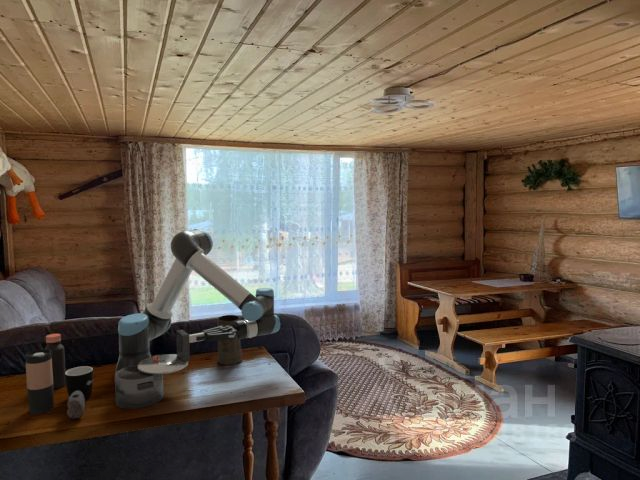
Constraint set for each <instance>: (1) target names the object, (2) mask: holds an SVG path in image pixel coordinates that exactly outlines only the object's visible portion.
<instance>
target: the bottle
mask: <svg viewBox="0 0 640 480" xmlns="http://www.w3.org/2000/svg"><path fill="white" fill-rule="evenodd" d="M45 342H46V346H45V348H44V349H48V350H51V357H52V372H53V390H56V389H55V388H57V389H60V388H59V387H61V388H63V387H64V386H66V381H65V372H66V357H65V346H64V345H63V344H61V342H62V335H61V334H60V333H51V334H47V335H46V336H45ZM62 386H63V387H62Z"/></svg>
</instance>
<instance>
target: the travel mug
mask: <svg viewBox="0 0 640 480" xmlns="http://www.w3.org/2000/svg"><path fill="white" fill-rule="evenodd" d="M25 377H26V391H27V401H28V402H27V403H28V410H29V413H30V414H31V415H42V414H45V413H49V412H51V411H52V410H53V409H54V407H55V405H54V403H55V402H54V401H55V398H54V389H53V372H52V357H51V350H48V349H45V348H44V349H36V350H32V351H31V350H30V351H29V352H27V353H26V354H25ZM52 408H53V409H52ZM51 409H52V410H51Z"/></svg>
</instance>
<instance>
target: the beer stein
mask: <svg viewBox="0 0 640 480" xmlns="http://www.w3.org/2000/svg"><path fill="white" fill-rule="evenodd" d="M239 320H241V318H240V316H239V315H235V314H226V315H221V316H219V317H218V318H217V322H216V324H217V327H218V326H221V325H222V326H223V327H225V326H232V325H233V322H235V321H239ZM242 354H243V351H242V346H241V339H239V340H236V339H235V338H234V339H227V340H218V341H217V355H218V357H217V361H218V363H219V364H221V365H226V366H228V365H236V364H239V363H240V362H241V361H242V360H243V355H242Z"/></svg>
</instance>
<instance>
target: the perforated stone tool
mask: <svg viewBox="0 0 640 480" xmlns="http://www.w3.org/2000/svg"><path fill="white" fill-rule="evenodd" d="M66 404H67V405H66V406H67V408H68V409H67V410H66V414H67V416H68V417H69V418H70V419H73V420H74V419H81V417H82V416H83V415H84V412H85V406H86V400H85V399H84V395H83V393H82V392H81V391H79V390H77V391H74V392H73V393H72V394H71V395H70V397H69V396H68V399H67V403H66Z"/></svg>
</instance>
